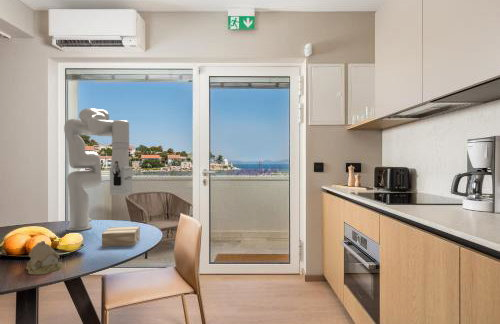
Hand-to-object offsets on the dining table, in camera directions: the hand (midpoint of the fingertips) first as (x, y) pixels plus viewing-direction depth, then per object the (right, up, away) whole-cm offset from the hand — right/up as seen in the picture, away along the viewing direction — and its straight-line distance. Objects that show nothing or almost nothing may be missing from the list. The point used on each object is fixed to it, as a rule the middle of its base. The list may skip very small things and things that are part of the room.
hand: (121, 184), depth 164 cm
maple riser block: (0, -27, +1) cm, 27 cm away
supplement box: (0, -5, 0) cm, 5 cm away
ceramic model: (-15, -28, -37) cm, 49 cm away
